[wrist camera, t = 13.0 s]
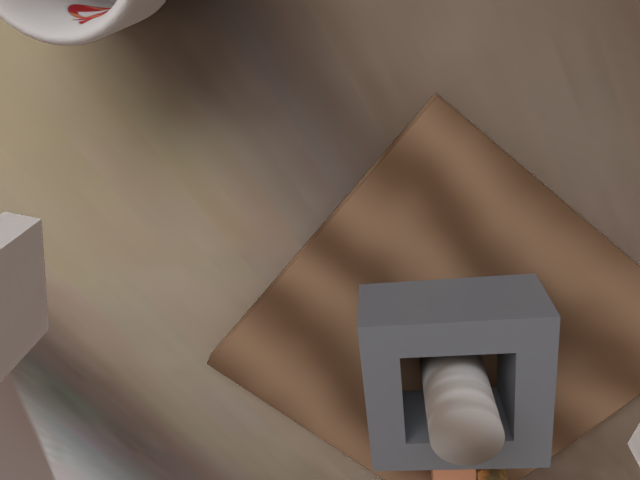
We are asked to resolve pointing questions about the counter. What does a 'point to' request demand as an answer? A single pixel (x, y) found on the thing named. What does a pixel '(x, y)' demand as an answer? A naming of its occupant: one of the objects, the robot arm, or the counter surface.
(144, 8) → the cup
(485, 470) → the dowel
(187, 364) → the counter surface
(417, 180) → the post board
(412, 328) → the grey rectangular frame block
